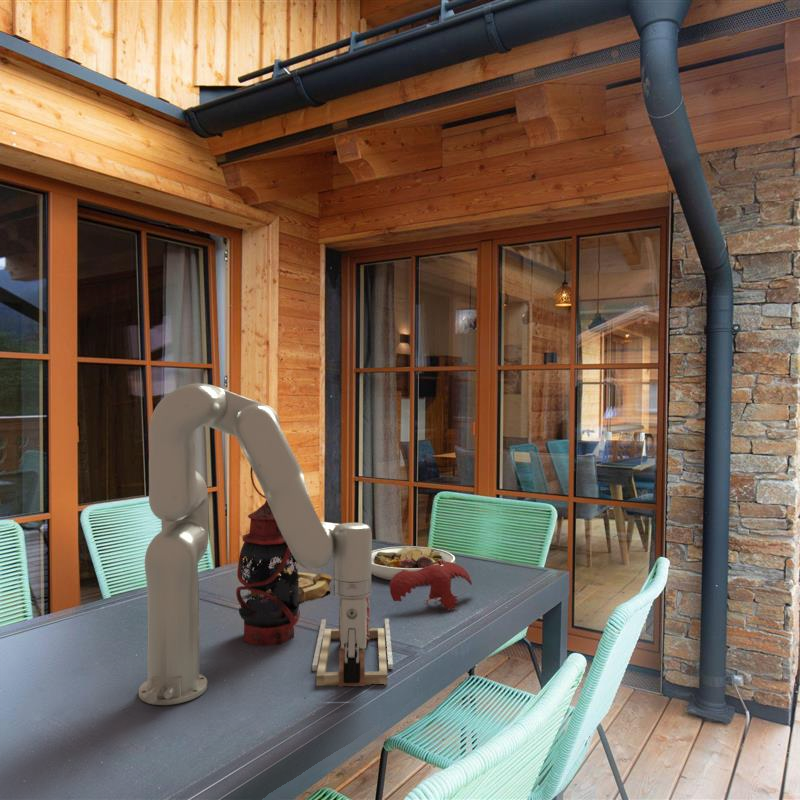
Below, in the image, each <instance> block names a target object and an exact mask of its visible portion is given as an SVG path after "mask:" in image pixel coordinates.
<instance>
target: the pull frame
mask: <svg viewBox="0 0 800 800" xmlns="http://www.w3.org/2000/svg"><path fill="white" fill-rule="evenodd" d="M372 638H373V639H372ZM374 638H378V639H377V650H378V654H377V655H379V656H378V671H365V670H366V669H365V665H366V660H365V659H366V658H365V657H366V652H365V651H366V650H365V649H366V648H365V649H363V648H360V647H359V662H360V682H359V683H344V662H345V648H344V649H343V648H342V647H341V645H340V646H339V651H338V658H339V659H338V660H339V661H338V664H339V666H338V671H327V668H328V661H329V655H330V648H331V640H339V628H325V631H324V637H323V642H322V647H321V653H320V658H319V664H318V669H317V671H316V677H315V678H316V686H317V687H318V686H320V687H321V686H338V687H339V688H344V687H343V686H364V687H365V686H372V685H371V684H384V685H383V686H385V685H388V663H387V648H386V634H385V627H384V628H383V627H370V635H369V640H375V639H374ZM356 646H357V645H356ZM355 653H356V651H355Z"/></svg>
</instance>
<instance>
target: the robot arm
mask: <svg viewBox="0 0 800 800" xmlns="http://www.w3.org/2000/svg"><path fill="white" fill-rule="evenodd" d="M280 422H281V421H280V417H279V415H278V413H277V412H276V410H275V409H274V408H272V406H269V405H267V404H265V403H262V402H259V401H256V400H254V399H251V398H247V397H245V396H243V395H240V394H237V393H234V392H231V391H229V390H227V389H225V388H221V387H219V386H216V385H212V384H210V383H209V384H208V383H199V382H197V383H189V384H186V385H183V386H181V387H178V388H177V389H174V390H173V391H171V392H169V393H168V394H167V395H165V396H164V397H163V398H162V399H161V400H160V401H159V402H158V404H157V405H156V406H155V408H154V410H153V412H152V413H151V417H150V420H149V425H148V426H149V427H148V503H149V508H150V510H151V512H152V514H153V515H154V516H155V517H156V518H157V519H159V520H160V521H161V524H160V525H161V531H160V532H159V533H158V534H156V535H155V536H154V537H153V539H151V541H150V543H149V545H148V546H147V548H146V551H145V556H144V572H145V580H146V593H147V597H146V598H147V680H145V681H144V682H143V683H142V684H141V685H140V686H139V688H138V697H139V699H140V701H142V702H144V703H146V704H150V705H153V706H171V705H172V706H173V705H178V704H182V703H186V702H190V701H192V700H194V699H197V698H199V697H200V696H201V695H203V694H204V693H205V692H206V691H207V689H208V679H207V678H206V676H204V675H203V674H201V673H200V631H201V630H200V627H201V626H200V621H201V620H200V617H201V616H200V615H201V614H200V613H201V612H200V583H199V562H201V561H200V560H202V558H203V557H204V555H205V554H206V551H207V549H208V547H209V538H210V537H209V536H210V535H209V498H208V497H209V495H208V494H209V493H208V487H207V483H206V481H205V479H204V477H203V476H202V475H201V474H200V473H199V472H198V471H197V470H196V444H195V433H196V432H197V430H198V429H199V428H203V427H207V428H211V429H214V430H216V431H220V432H222V433H224V434H227V435H229V436H233V437H236V440H237V442H238V443H239V446H240V448H241V450H242V452H243V454H244V456H245V457H246V459H247V462H248V464H249V465H250V468H251V467H252V469H253V470H252V472H253V474H254V475H255V477H256V479H257V481H258V484H259V485H260V487H261V489H262V492H263V494H264V496H265V498H264V499H266V500H267V502H268V504H269V506H270V508H271V511H272V513H273V515H274V518H275V520H276V523H277V525H278V527H279V529H280V531H281V533H282V536H283V537H284V539H285V541H286V543H287V545H288V547H289V549H290V551H291V553H292V555H293V557H294V558H295V560H296V561H297V564H299V565H300V566H301V567H302V568H305V569H308V570H318V569H321V568H324V566H326V565H327V564H328V563H329V562H330V560H331V558H333V595H334V596H335V597H337V598H339V603H340V635H341V644H340V646H341V647H342V648H343V649H344V648H345V662H344V683H359V682H360V662H359V647H360V648H363V649H366V648H367V645H366V637H367V601H366V597H368V598H369V596H371V595H372V575H373V574H372V573H371V571H372V551H373V550H372V548H373V547H372V546H373V545H372V543H373V541H372V539H373V537H372V535H373V534H372V528H371V527H370V526H369V525H368V524H365V523H362V522H343V523H336V522H335V523H334V522H327V521H321V520H320V518H319V515H318V514H317V512H316V511H317V510H316V509H315V507H314V504H313V503H312V500H311V497H310V495H309V492H308V488H307V483H306V478H305V475H304V471H303V469H302V467H301V465H300V462H299V461H298V459H297V457H296V456H295V453H294V451H293V449H292V447H291V446H290V444H289V441H288V440H287V438H286V436H285V434H284V431H283V430H282V427H281V426H280V425H281V423H280ZM266 500H265V501H266ZM348 644H349V646H348ZM356 645H357V646H356ZM355 651H356V653H355Z"/></svg>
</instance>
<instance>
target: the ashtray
mask: <svg viewBox="0 0 800 800" xmlns="http://www.w3.org/2000/svg"><path fill="white" fill-rule="evenodd" d="M289 570H290V571H289ZM285 571H286V570H285V568H284V572H285ZM291 571H292V570H291V569H290V567H289V568H288V569H287V571H286V572H285V573H287V572H289V574H291ZM297 573H298V583H299V603H300V602H301V603H304V602H303V601H306V602H309V601H308V600H310V601H313V600H312V599H314V600H317V598H318V599H322V597H324V596H325V595H326V594H327V592H329V593H331V590H332V589H331V587H330V583H331V582H332V581H333V577H332V575H329V574H328V573H327V574H326V573H321V572H320V573H318V574H316V573H309V572H298V571H297ZM278 575H280V576H281V574H280V573H279V574H278ZM279 580H280V579H279ZM296 581H297V580H296ZM270 591H271V590H270V589H269V591H266V592H268V593H271V592H270ZM291 593H292V592H291ZM256 594H257V593H254V592H252V591H250V595H251V597H252V596H253V597H254V596H256ZM272 594H273V593H272ZM291 595H292V594H291ZM293 595H294V594H293ZM293 595H292V596H293ZM263 596H265V595H262V594H260V598H261V597H263ZM258 597H259V594H258ZM274 597H275V598H276V595H275V596H274ZM277 599H278V598H277ZM297 602H298V601H297Z"/></svg>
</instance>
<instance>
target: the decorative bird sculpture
mask: <svg viewBox="0 0 800 800" xmlns="http://www.w3.org/2000/svg"><path fill="white" fill-rule="evenodd" d="M456 578H458V579H459V578H461V579H465V581H467V582H468V583H469V585H470V586H472V585H473V582H472V579H471V577H470V574H469V573H468V572H467V570H466V569H465V568H464V567H462V566H461V565H459V564H457V563H456V562H455V563H452V562H445V563H444V565H443V566H439V565H431V566H426V567H424V568H423V569H421V570H418V571H407V570H402V571H401V572H399V573H397V574H396V575H395V576H394V577H393V578H392V579H391V580H389V581H390V582H389V593H390V595H391V598H392V600H393V601H394V602H403V600H402V598H401V597H404V598H406V596H407V595H406V593H408V594H411V593H412V589H413V590H415V589H416V586H418V587H421V585H422V586H425V584H426V585H429V586H430V588H429V589H430V590H429V595H428V598H426V599H424V602H426V603H427V604H428V603H429V601H430V600H435V601H437V602H438V603H439V602H440V606H443V605H444V606H443V608H446V609H445V611H449V610H450V611H451V612H453V609H456V606H457V604H458V603H457V602H458V601H459V599H457V598H458V596H457V595H454V594H453V593H452V588H451V587H452V579H456ZM439 598H440V599H439ZM438 599H439V600H438Z"/></svg>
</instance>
